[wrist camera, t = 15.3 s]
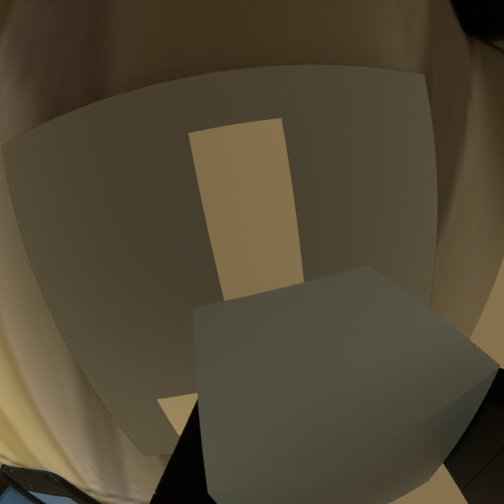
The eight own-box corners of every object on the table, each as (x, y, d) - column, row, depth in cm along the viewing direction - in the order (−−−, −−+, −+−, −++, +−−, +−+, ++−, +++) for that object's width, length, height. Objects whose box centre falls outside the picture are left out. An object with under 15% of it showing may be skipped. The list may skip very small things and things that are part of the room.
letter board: (415, 75, 10) (424, 74, 9) (409, 374, 16) (414, 379, 16) (10, 144, 8) (2, 144, 7) (144, 448, 14) (144, 456, 13)
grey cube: (368, 265, 8) (500, 365, 3) (360, 384, 10) (427, 481, 5) (193, 307, 7) (207, 493, 3) (231, 422, 9) (260, 546, 4)
